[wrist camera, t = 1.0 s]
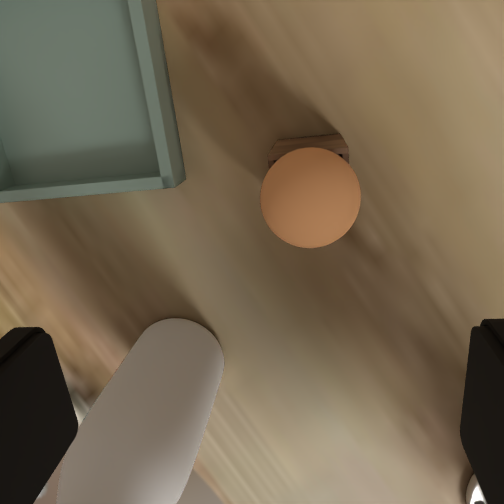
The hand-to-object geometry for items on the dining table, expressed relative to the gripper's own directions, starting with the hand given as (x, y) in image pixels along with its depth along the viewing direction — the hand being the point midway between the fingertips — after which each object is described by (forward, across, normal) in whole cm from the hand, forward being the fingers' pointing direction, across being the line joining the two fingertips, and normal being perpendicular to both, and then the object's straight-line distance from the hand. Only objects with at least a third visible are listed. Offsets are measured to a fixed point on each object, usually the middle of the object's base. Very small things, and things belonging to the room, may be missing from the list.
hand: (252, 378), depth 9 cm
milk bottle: (+22, +10, +15) cm, 29 cm away
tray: (+22, +15, -7) cm, 28 cm away
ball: (+13, -1, 0) cm, 13 cm away
